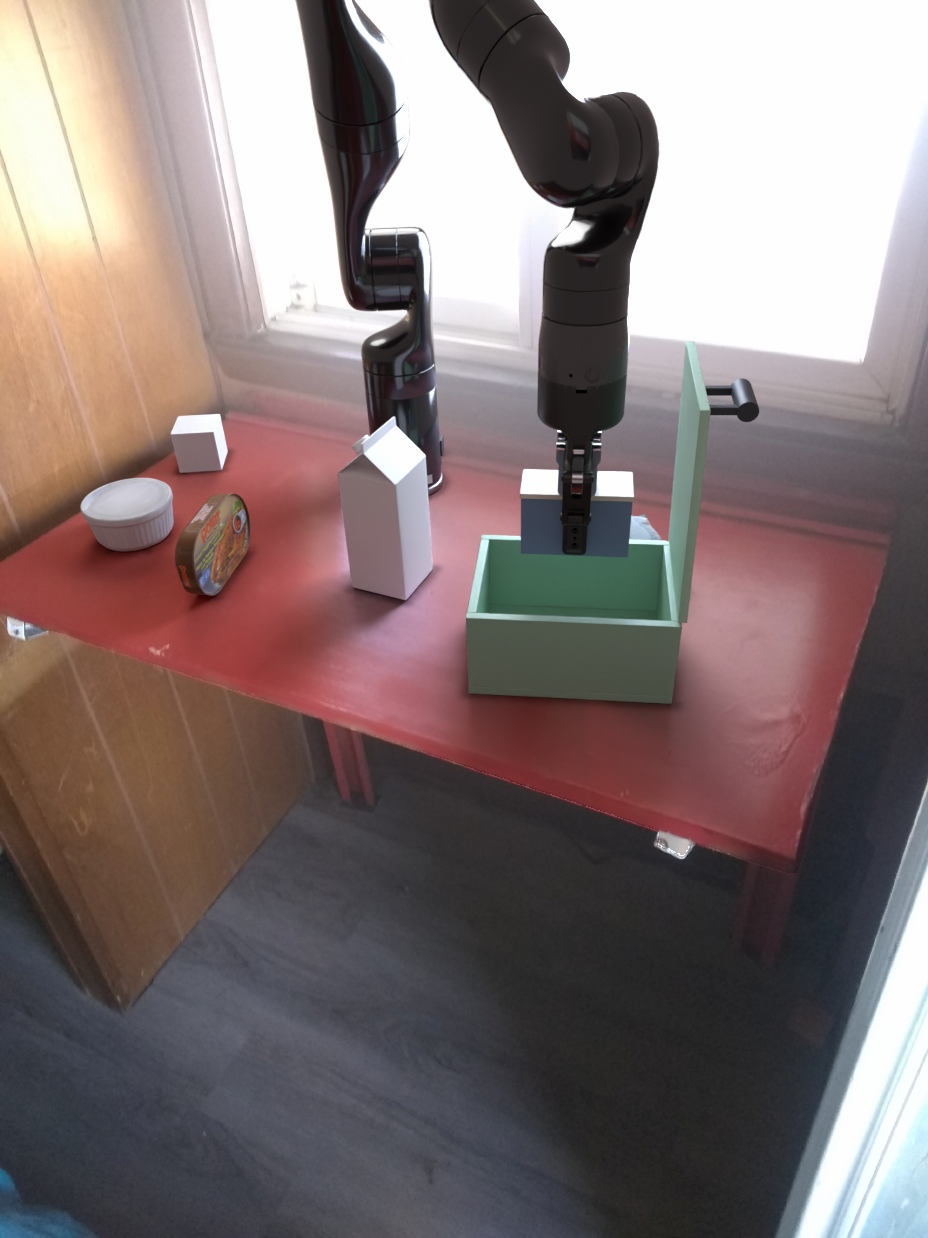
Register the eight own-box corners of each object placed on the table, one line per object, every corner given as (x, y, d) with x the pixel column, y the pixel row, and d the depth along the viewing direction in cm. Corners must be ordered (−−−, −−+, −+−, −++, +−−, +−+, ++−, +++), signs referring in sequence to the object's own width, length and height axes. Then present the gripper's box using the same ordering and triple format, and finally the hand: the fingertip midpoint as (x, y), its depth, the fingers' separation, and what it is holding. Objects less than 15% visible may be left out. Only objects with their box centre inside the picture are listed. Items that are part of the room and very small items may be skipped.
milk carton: (433, 569, 109) (423, 421, 98) (405, 602, 104) (392, 449, 93) (381, 557, 112) (365, 411, 100) (351, 588, 107) (331, 438, 95)
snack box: (522, 528, 91) (523, 468, 87) (627, 531, 89) (632, 471, 86) (519, 554, 87) (519, 493, 83) (628, 558, 86) (634, 497, 82)
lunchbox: (468, 693, 91) (465, 618, 86) (483, 606, 103) (481, 534, 98) (671, 704, 89) (682, 627, 84) (663, 613, 101) (671, 540, 95)
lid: (700, 410, 71) (772, 410, 70) (685, 341, 83) (747, 340, 82) (678, 623, 83) (739, 624, 83) (668, 536, 95) (721, 537, 94)
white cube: (227, 451, 136) (220, 413, 133) (221, 470, 132) (213, 431, 128) (186, 453, 136) (178, 415, 133) (179, 472, 131) (170, 434, 128)
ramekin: (108, 512, 123) (98, 476, 120) (191, 510, 123) (182, 475, 119) (77, 557, 114) (65, 521, 111) (166, 557, 114) (156, 520, 110)
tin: (207, 610, 104) (191, 547, 99) (181, 608, 105) (164, 545, 100) (256, 540, 116) (245, 480, 111) (233, 538, 117) (220, 479, 111)
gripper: (542, 334, 84) (539, 499, 94) (532, 399, 72) (530, 578, 83) (625, 335, 83) (613, 502, 93) (629, 400, 71) (615, 582, 82)
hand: (574, 537), depth 88 cm, fingers closed on snack box, 4 cm apart
